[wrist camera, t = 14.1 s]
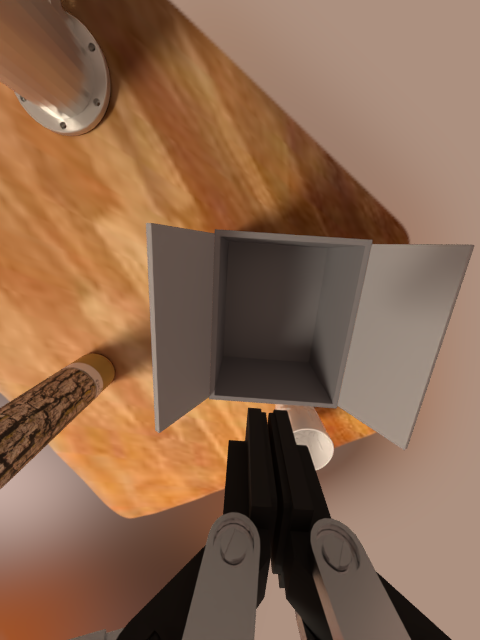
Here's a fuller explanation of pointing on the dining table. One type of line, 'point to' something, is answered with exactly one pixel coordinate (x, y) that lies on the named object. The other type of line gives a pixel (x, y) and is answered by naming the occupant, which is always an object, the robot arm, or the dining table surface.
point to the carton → (283, 316)
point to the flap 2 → (400, 333)
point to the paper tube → (48, 410)
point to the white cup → (310, 433)
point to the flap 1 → (179, 318)
